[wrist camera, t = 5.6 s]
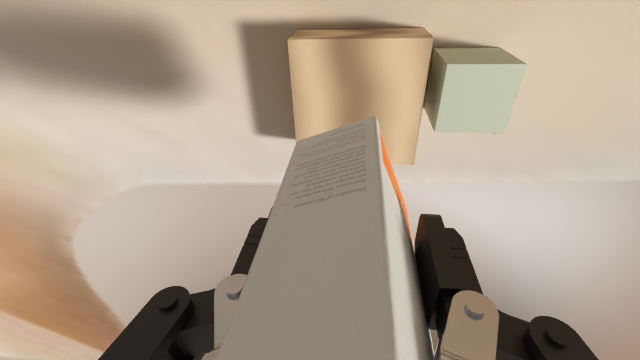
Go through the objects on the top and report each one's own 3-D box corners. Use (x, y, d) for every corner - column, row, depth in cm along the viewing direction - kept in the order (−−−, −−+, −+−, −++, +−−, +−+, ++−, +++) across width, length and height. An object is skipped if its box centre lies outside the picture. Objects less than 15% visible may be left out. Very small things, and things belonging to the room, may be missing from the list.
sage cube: (499, 47, 25) (526, 63, 21) (483, 108, 28) (504, 133, 24) (433, 47, 25) (447, 64, 21) (424, 107, 28) (434, 132, 24)
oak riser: (424, 27, 25) (433, 37, 21) (408, 143, 30) (413, 165, 27) (296, 29, 26) (287, 39, 22) (304, 140, 31) (297, 161, 28)
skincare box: (409, 208, 17) (470, 525, 8) (337, 224, 19) (308, 515, 9) (377, 109, 14) (408, 419, 5) (293, 137, 16) (178, 426, 6)
